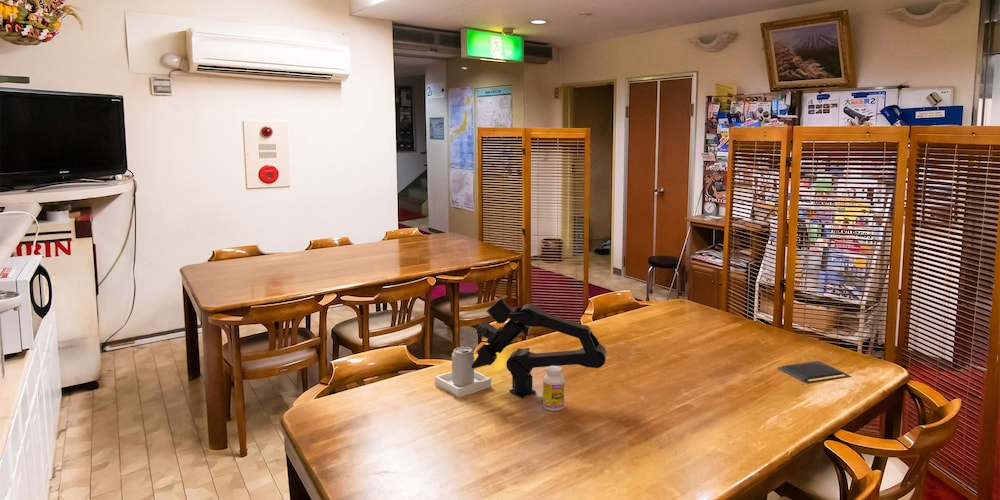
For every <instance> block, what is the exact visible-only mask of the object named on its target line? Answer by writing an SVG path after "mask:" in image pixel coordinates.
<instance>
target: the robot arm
mask: <svg viewBox="0 0 1000 500" xmlns="http://www.w3.org/2000/svg"><path fill="white" fill-rule="evenodd" d="M485 312H486V313H487V314H488V315H489V316H490V317H491V318H492V319H493V320H494V321H495V322H496V323H497V324H498V325H500V324H502V326H499V327H498V328H497V327H495V326H494V325H492V324H490V323H488V322H486V321H484V320H482V321H481V322H480V323H479V325H478V327H477V328H476V332H475V333H476V334H477V335H479V336H481V337H483V338H485V339H486V342H487V343H488V344H485V343H484V344H482V345H481V346H480V347H479V348H478V349H477V350H476V354H477V357H476V358H475V359H474V363H473V364H472V366H471V367H472V368H473V369H474V370H475V369H477V368H481V367H484V366H491V365H493V363H495V361H496V360H497V358H498V354H501V353H502V352H503V350H505V349H506V348H507V347H508V346H510V345H511V344H512V342H514V340H516V339H517V338H518V337H519V336H520V335H521V334H522V333H523V334H524V335H525V336H526V337H528V336H529V334H530V332H531V330H530V328H531V327H532V328H545V329H549V330H552V331H555V332H557V333H558V332H559V333H562V334H564V335H568V336H570V337H573V338H576V339H579V341H580V343H581V346H582V348H579V349H575V350H563V351H551V352H550V351H549V352H537V353H535V352H531V351H530V347H526V348H519V347H518V348H517V349H516V350H514V351H512V352H511V354H510V355H509V357H508V359H507V360H506V364H505V366H506V369H507V370H508V372H510V375H511V378H512V380H511V384H512V385H511V389H509V393H511V394H513V395H515V396H517V397H519V398H525V397H527V396H530V395H533V394H536V393H537V391H536V390H535V389H533V375H532V371H533V369H534V368H545V367H546V368H547V367H549V366H559V367H561V366H562V367H563V366H574V365H575V366H577V365H579V366H581V367H584V368H590V369H591V368H592V369H599V368H601V367H603V365H604V364H605V363H606V360H607V353H608V352H607V349H606V347H605V346H604V345H602V344H601V343H600V342H599V339H598V338H597V337H596V335H595V334H594V333H593V331H592V330H591V328H590V326H589V325H586V324H581V323H578V322H575V321H572V320H569V319H567V318H562V317H561V316H560V317H559V316H556V315H553V314H551V313H548V312H547V311H545V310H544V309H543V308H541V307H540V306H538V305H535V304H534V303H527V304H524V305H523V306H514V307H513V308H512V307H511V306H510V305H509V304H508V303H507V302H506V300H505V299H504V298H503V297H501V298H499V299H498V300H496V301H495V302H494V303H493V304H492V305H491V306H490V307H489V308H487V310H486V311H485ZM507 320H508V321H507ZM504 323H505V324H504ZM503 324H504V325H503ZM497 353H498V354H497Z"/></svg>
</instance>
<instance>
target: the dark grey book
mask: <svg viewBox="0 0 1000 500" xmlns="http://www.w3.org/2000/svg"><path fill="white" fill-rule="evenodd" d="M777 370H779V371H780V372H783V373H785V374H787V375H789V376H791V377H793V378H794V379H796V380H798V381H800V382H803V383H804V384H807V385H808V384H814V383H820V382H827V381H832V380H839V379H847V378H848V379H849V378H852V376H851V375H849V374H847V373H845V372H843V371H841V370H840V369H837V368H835V367H833V366H831V365H829V364H827V363H824V362H821V361H820V360H817V361H810V362H803V363H802V362H801V363H796V364H788V365H782V366H780V367H777Z"/></svg>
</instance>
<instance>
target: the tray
mask: <svg viewBox="0 0 1000 500" xmlns="http://www.w3.org/2000/svg"><path fill="white" fill-rule="evenodd" d="M434 386H436V387H438V388H439V389H442V390H443V391H445V392H447V393H449V394H450V395H452V396H454V397H456V398H458V399H459V398H462V397H465V396H469V395H471V394H474V393H478V392H480V391H483V390H485V389H489V388H492V379H491V377H488V376H487V375H485V374H482V373H480V372H478V371H476V370H475V369H474V382H473V383H472V384H469V385H466V386H463V387H461V386H457V385H455V384H454V383H453V382H452V370H451V371H447V372H445V373H440V374H439V375H435V376H434Z"/></svg>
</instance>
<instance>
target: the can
mask: <svg viewBox="0 0 1000 500" xmlns="http://www.w3.org/2000/svg"><path fill="white" fill-rule="evenodd" d="M474 361H475V353H474V352H473V348H471V347H467V346H459V347H456V348H454V349H453V352H452V353H451V371H452V382H453V383H454V384H455V385H457V386H461V387H463V386H466V385H469V384H472V383H473V382H474V370H475V368H474V369H473V368H472V367H471V366H472V364H473V363H474Z"/></svg>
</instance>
